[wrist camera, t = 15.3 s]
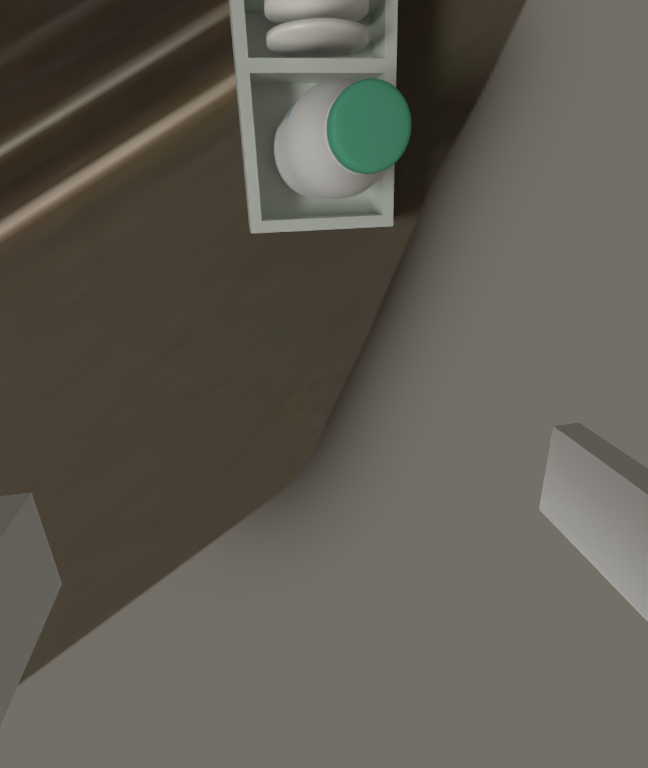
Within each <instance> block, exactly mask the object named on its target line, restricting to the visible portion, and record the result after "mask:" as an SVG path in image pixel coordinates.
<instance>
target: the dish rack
mask: <svg viewBox="0 0 648 768" xmlns="http://www.w3.org/2000/svg"><path fill="white" fill-rule="evenodd" d="M229 12H230V23H231V33H232V44H233V55H234V66H235V77H236V88H237V99H238V110H239V120H240V131H241V142H242V153H243V164H244V175H245V186H246V197H247V207H248V218H249V229H250V231H251V233H270V232H289V231H309V230H328V229H348V228H367V227H387V226H393V208H394V164H393V165H392V166H391V167H389V168H388V169H386V170H384V172H383V174H382V175H381V176H380V178H379V179H378V180H377V181H376V182H375V183H374V184H373V185H372V186H371V187H369V188H368V189H367V190H365V191H363V192H362V193H360V194H357V195H355V196H352V197H348V198H342V199H323V198H313V197H307V196H304V195H301V194H299V193H297V192H295V191H294V190H292V189H291V188H290V187H289V186H288V185H287V184H286V183H285V182H284V181H283V180H282V178H281V177H280V175H279V173H278V171H277V169H276V166H275V163H274V158H273V141H274V136H275V133H276V131H277V128H278V126H279V124H280V122H281V121H282V119H283V118H284V116H285V115H286V114H287V112H288V111H289V110H290V108H291V107H292V106H293V105H294V103H295V102H296V101H297V100H298V99H299V98H300V97H301V96H302V95H303V94H304V93H305V92H306V91H307V90H309V89H310V88H311V87H313V86H314V85H316V84H318V83H320V82H323V81H326V80H329V79H334V78H348V79H353V80H357V81H359V80H363V79H369V78H374V79H380V80H383V81H386V82H388V83H390V84H391V85H393V86H394V87H395V88H396V67H397V20H398V0H229Z"/></svg>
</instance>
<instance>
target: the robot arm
mask: <svg viewBox="0 0 648 768" xmlns="http://www.w3.org/2000/svg"><path fill="white" fill-rule="evenodd" d="M539 510H540V511H541V512H542V513H543V514H544V515H545V516H546V517H547V518H548V519H549V520H550V521H551V522H552V523H553V524H554V525H555V526H556V527H557V528H558V529H559V530H560V531H561V532H562V533H563V534H564V535H565V536H566V538H567V539H568V540H569V541H570V542H571V543H572V544H573V545H574V546H575V547H576V548H577V549H578V550H579V551H580V552H581V553H582V554H583V555H584V556H585V557H586V558H587V559H588V560H589V561H590V562H591V563H592V564H593V566H595V568H596V569H597V570H598V571H599V572H601V574H602V575H603V576H604V577H605V578H606V579H607V580H608V581H609V582H610V583H611V584H612V585H613V586H614V587H615V588H616V589H617V590H618V591H619V592H620V593H621V594H622V595H623V597H624V598H625V599H626V600H627V601H628V602H629V603H630V604H631V605H632V606H633V607H634V608H635V609H636V610H637V611H638V612H639V613H640V614H641V615H642V616H643V617H644V618H645V619H646V620H647V621H648V468H646V467H644V466H643V465H642V464H640V463H639V462H637V461H636V460H634V459H632V458H631V457H630V456H628V455H627V454H625V453H623V452H622V451H621V450H619V449H618V448H616V447H614V446H613V445H611V444H610V443H609V442H607V441H606V440H604V439H602V438H601V437H599V436H598V435H597V434H595V433H593V432H592V431H591V430H589V429H588V428H586V427H584V426H583V425H582V424H580V423H574V424H566V425H559V426H554V427H553V432H552V438H551V444H550V450H549V455H548V461H547V467H546V473H545V478H544V484H543V490H542V496H541V502H540V508H539ZM61 585H62V583H61V580H60V577H59V574H58V571H57V568H56V565H55V562H54V559H53V556H52V553H51V550H50V547H49V544H48V541H47V538H46V535H45V532H44V529H43V526H42V523H41V520H40V517H39V514H38V511H37V508H36V505H35V502H34V499H33V496H32V493H25V494H17V495H9V496H1V497H0V725H1V722H2V720H3V718H4V716H5V713H6V711H7V709H8V706H9V704H10V702H11V700H12V697H13V695H14V693H15V690H16V688H17V686H18V684H19V681H20V679H21V677H22V674H23V672H24V670H25V667H26V665H27V663H28V661H29V658H30V656H31V654H32V651H33V649H34V647H35V645H36V642H37V640H38V638H39V635H40V633H41V631H42V628H43V626H44V624H45V622H46V619H47V617H48V615H49V612H50V610H51V608H52V606H53V603H54V601H55V599H56V596H57V594H58V592H59V589H60V587H61Z"/></svg>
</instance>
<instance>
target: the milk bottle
mask: <svg viewBox="0 0 648 768" xmlns="http://www.w3.org/2000/svg"><path fill="white" fill-rule="evenodd" d="M410 134H411V114H410V110H409V107H408V104H407V102H406V100H405V98H404V97H403V95H402V94H401V93H400V91H399V90H398V89H397V88H395V87H394V86H393V85H391V84H390V83H388V82H386V81H383V80H380V79H374V78H369V79H363V80H359V81H357V80H353V79H348V78H334V79H329V80H326V81H323V82H320V83H318V84H316V85H314V86H313V87H311V88H310V89H309V90H307V91H306V92H305V93H304V94H303V95H302V96H301V97H300V98H299V99H298V100H297V101H296V102H295V103H294V105H293V106H292V107H291V108H290V110H289V111H288V112H287V114H286V115H285V116H284V118H283V119H282V121H281V122H280V124H279V126H278V128H277V131H276V133H275V136H274V141H273V158H274V163H275V166H276V169H277V171H278V173H279V175H280V177H281V178H282V180H283V181H284V182H285V183H286V184H287V185H288V186H289V187H290V188H291V189H292V190H294V191H295V192H297V193H299V194H301V195H304V196H307V197H313V198H323V199H342V198H348V197H352V196H355V195H357V194H360V193H362V192H363V191H365V190H367V189H368V188H369V187H371V186H372V185H373V184H374V183H375V182H376V181H377V180H378V179H379V178H380V176H381V175H382V174H383V172H384V170H386V169H388V168H389V167H391V166H392V165H393V164H395V163H396V162H397V161H398V160H399V158H400V157H401V156H402V154H403V153H404V151H405V149H406V147H407V145H408V142H409V139H410Z"/></svg>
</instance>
